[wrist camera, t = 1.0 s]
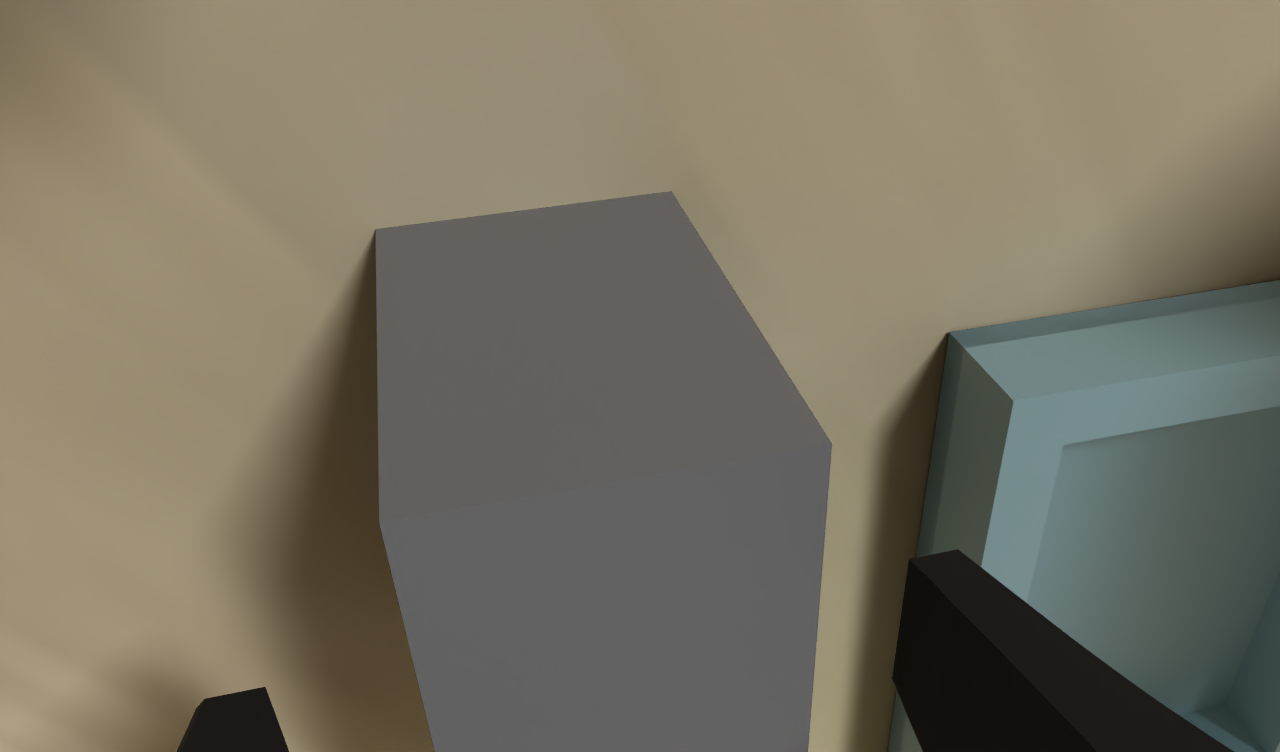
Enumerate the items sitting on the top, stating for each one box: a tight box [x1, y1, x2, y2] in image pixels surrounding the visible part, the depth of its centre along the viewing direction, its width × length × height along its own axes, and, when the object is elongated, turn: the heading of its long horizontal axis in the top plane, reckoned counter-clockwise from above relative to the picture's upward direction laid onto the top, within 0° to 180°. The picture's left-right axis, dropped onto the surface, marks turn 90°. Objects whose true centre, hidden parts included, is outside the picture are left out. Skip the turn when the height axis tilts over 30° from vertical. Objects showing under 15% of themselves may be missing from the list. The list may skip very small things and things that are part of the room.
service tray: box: [888, 280, 1280, 752], centre depth 20 cm, size 9×12×2 cm
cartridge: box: [376, 191, 832, 752], centre depth 13 cm, size 4×7×6 cm, turn 3°
